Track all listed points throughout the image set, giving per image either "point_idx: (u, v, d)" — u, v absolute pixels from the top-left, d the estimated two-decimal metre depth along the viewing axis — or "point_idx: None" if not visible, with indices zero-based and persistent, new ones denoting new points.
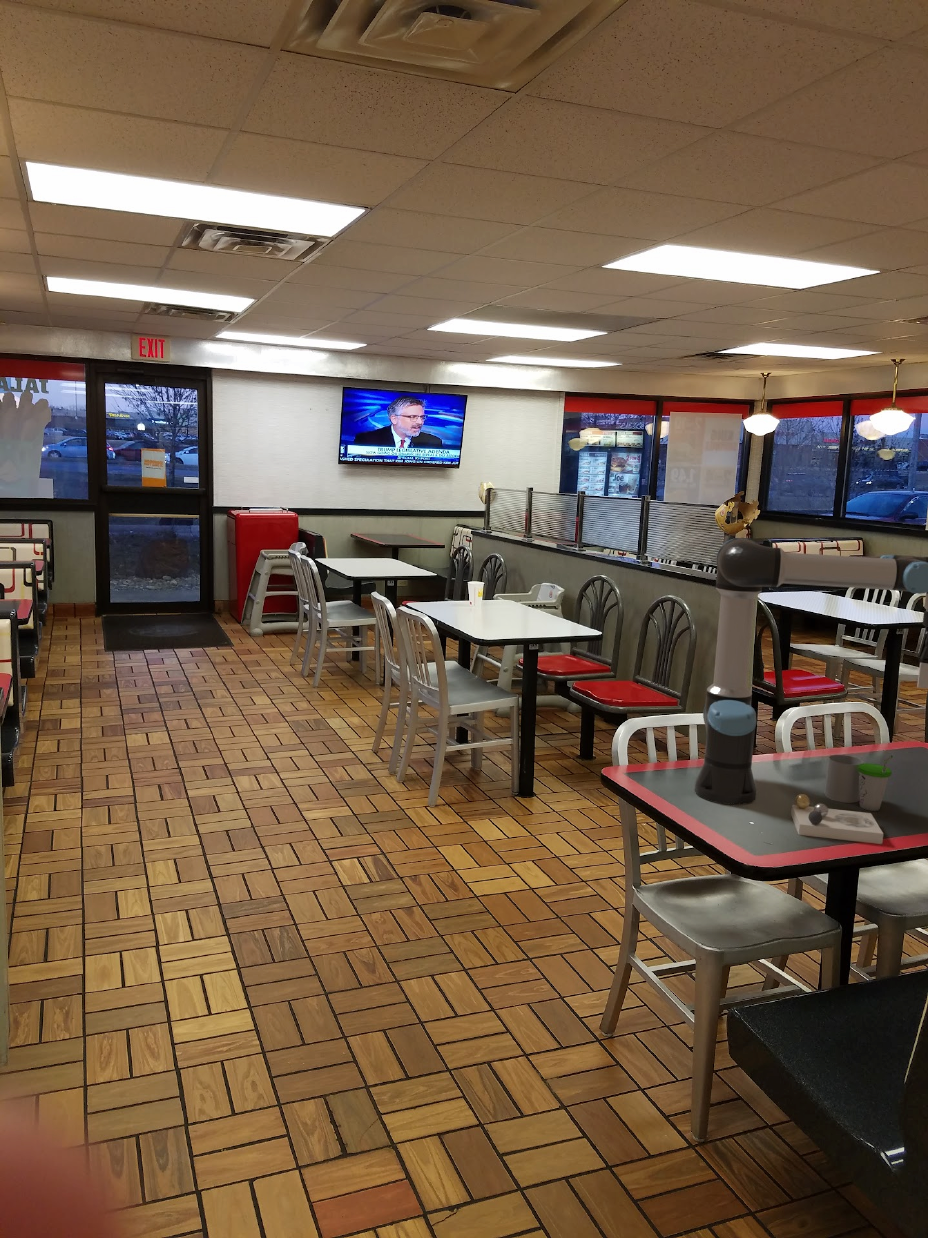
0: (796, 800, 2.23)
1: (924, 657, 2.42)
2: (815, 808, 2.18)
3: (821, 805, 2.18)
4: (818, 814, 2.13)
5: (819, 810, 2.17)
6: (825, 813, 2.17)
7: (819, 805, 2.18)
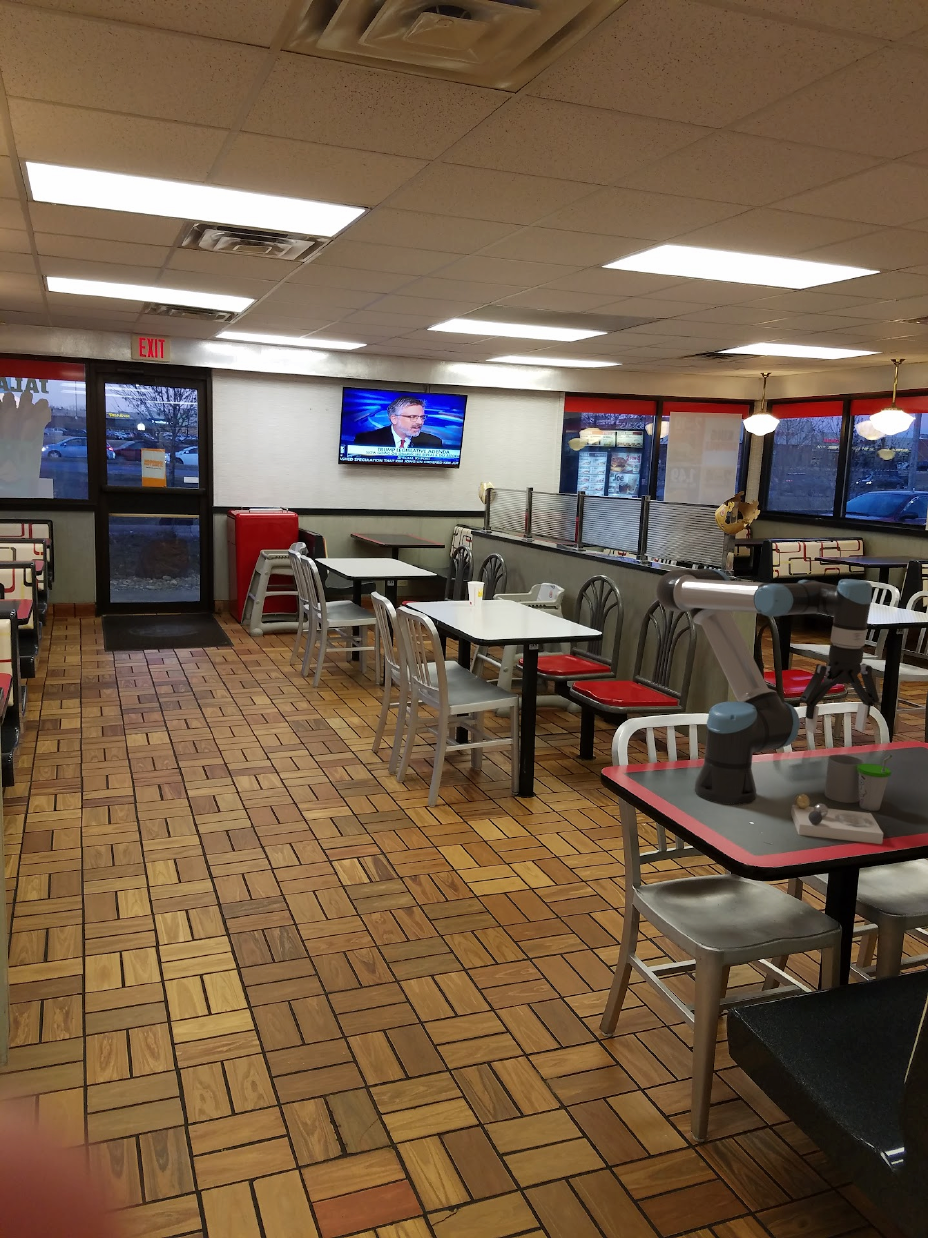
0: (796, 800, 2.23)
1: (859, 697, 2.25)
2: (815, 808, 2.18)
3: (821, 805, 2.18)
4: (818, 814, 2.13)
5: (819, 810, 2.17)
6: (825, 813, 2.17)
7: (819, 805, 2.18)
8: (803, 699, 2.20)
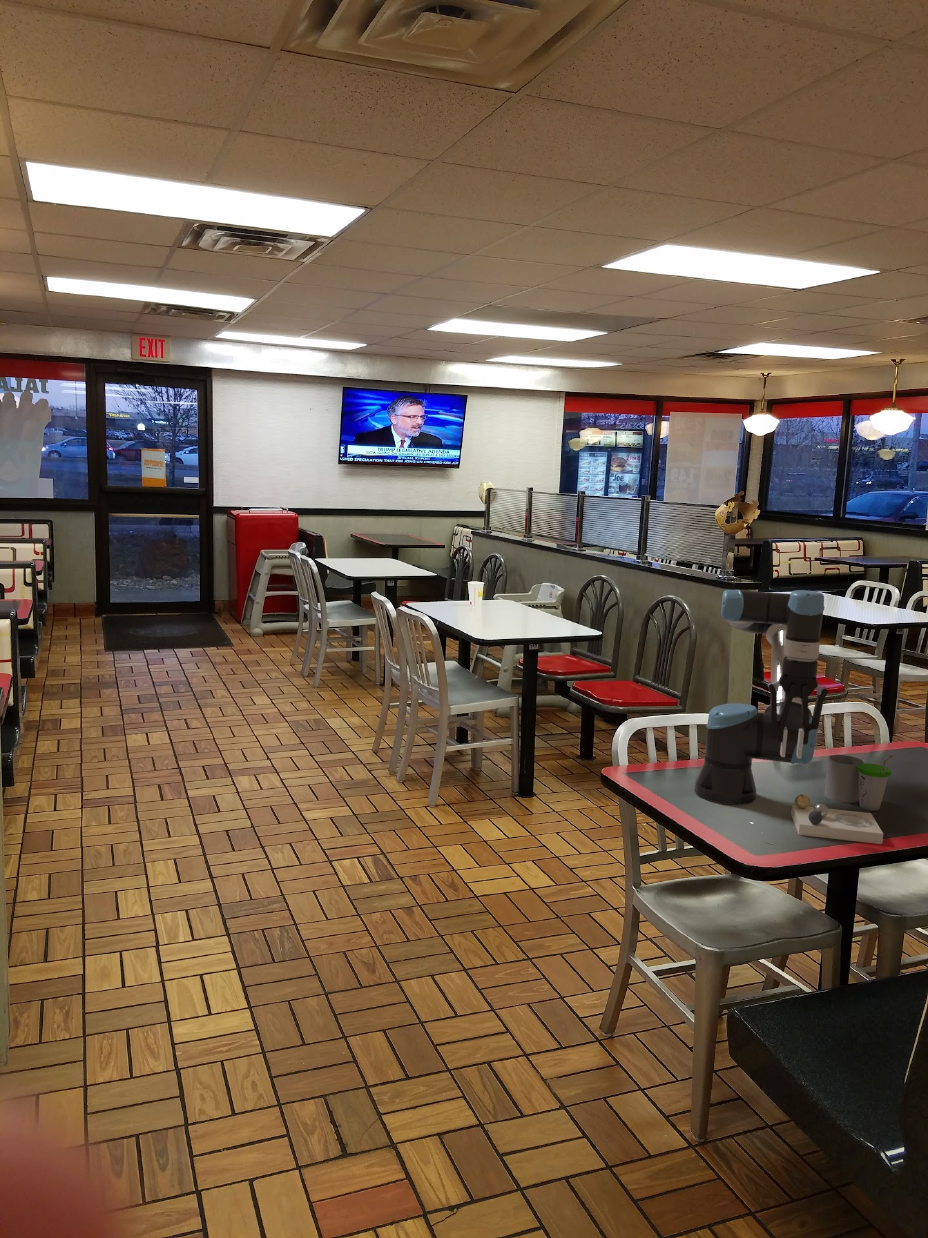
0: (796, 800, 2.23)
1: (802, 719, 2.17)
2: (815, 808, 2.18)
3: (821, 805, 2.18)
4: (818, 814, 2.13)
5: (819, 810, 2.17)
6: (825, 813, 2.17)
7: (819, 805, 2.18)
8: None
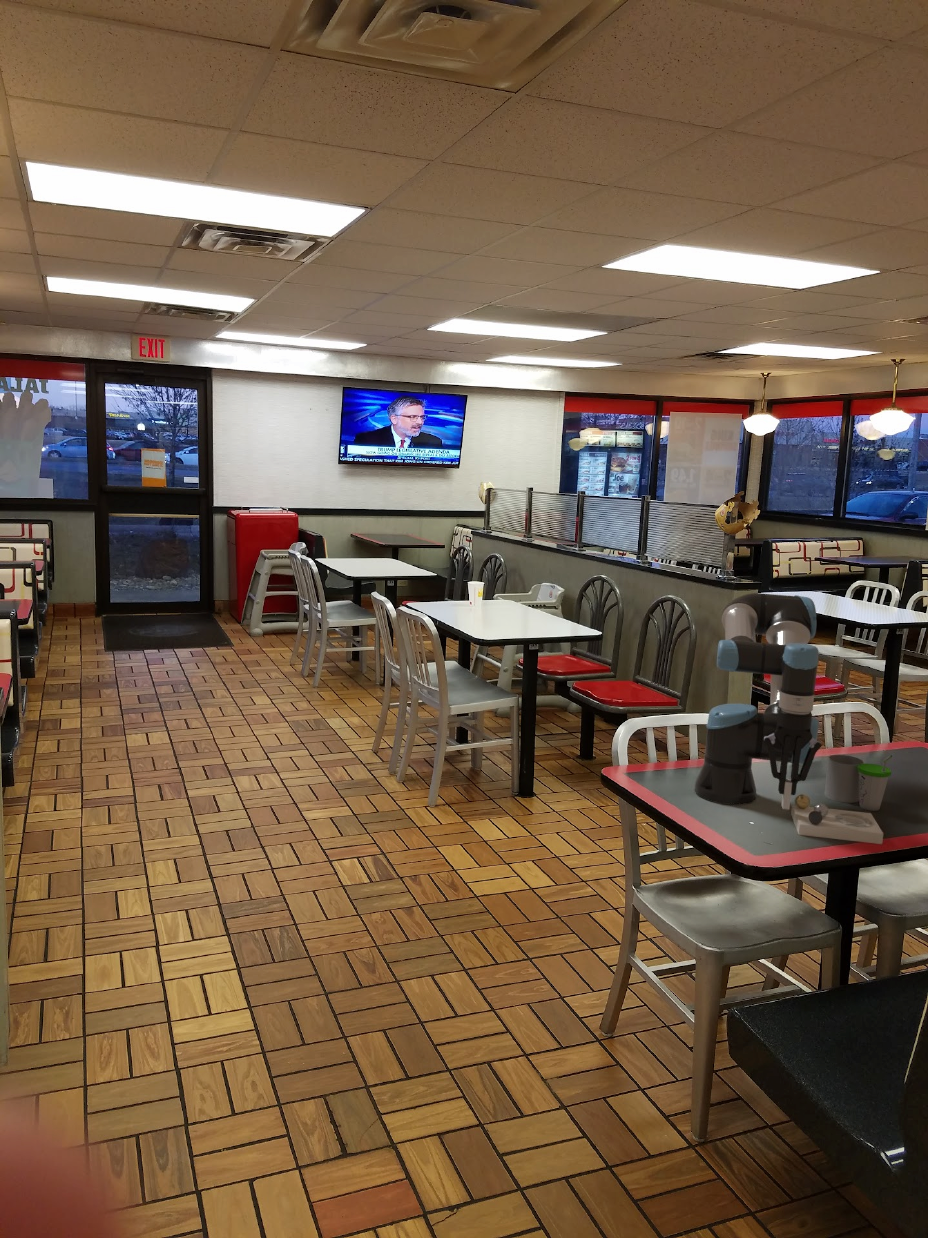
0: (796, 800, 2.23)
1: (791, 770, 2.19)
2: (815, 808, 2.18)
3: (821, 805, 2.18)
4: (818, 814, 2.13)
5: (819, 810, 2.17)
6: (825, 813, 2.17)
7: (819, 805, 2.18)
8: None
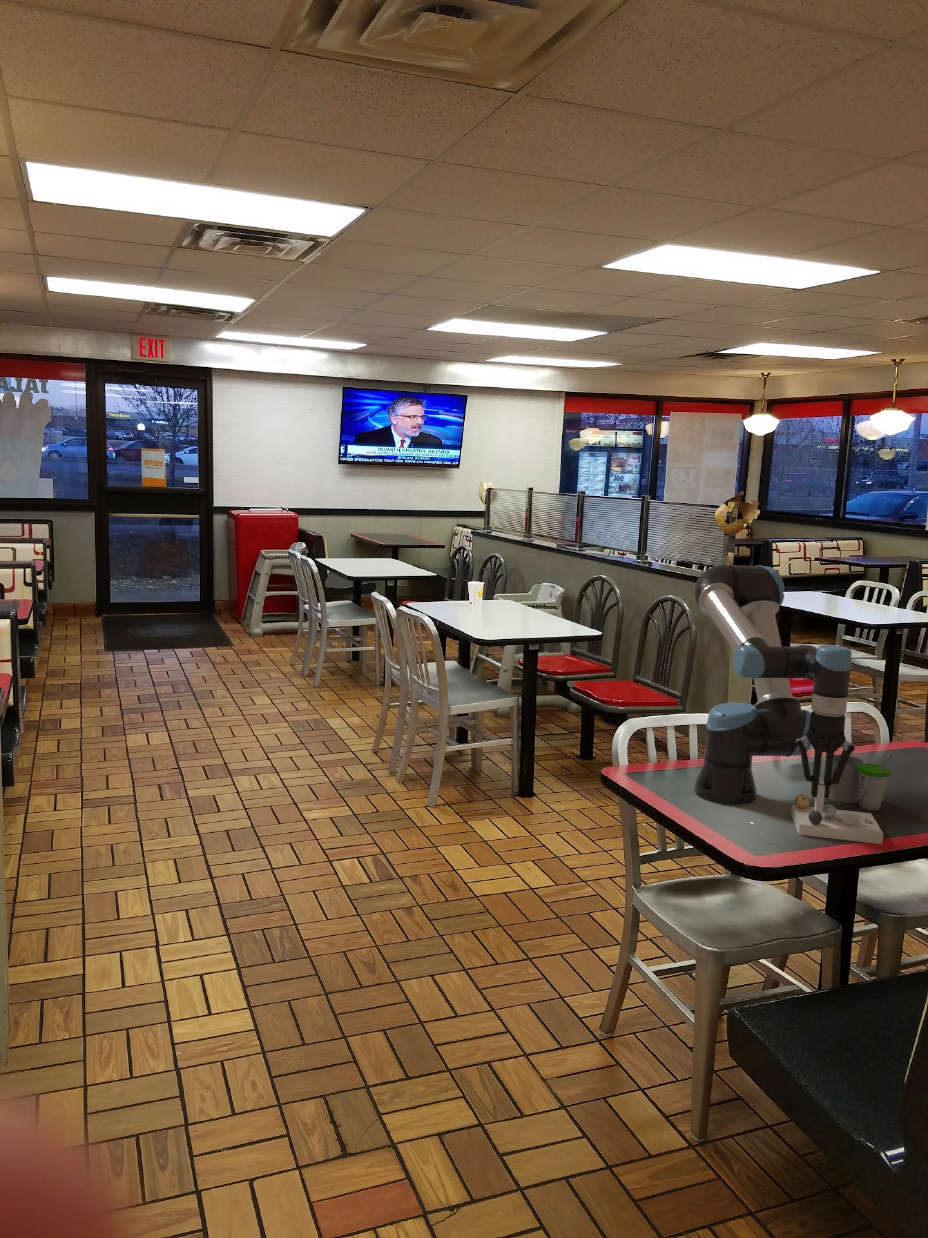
0: (796, 800, 2.23)
1: (824, 773, 2.17)
2: (829, 806, 2.17)
3: (835, 810, 2.17)
4: (818, 814, 2.13)
5: (831, 811, 2.16)
6: (830, 817, 2.17)
7: (834, 808, 2.17)
8: None
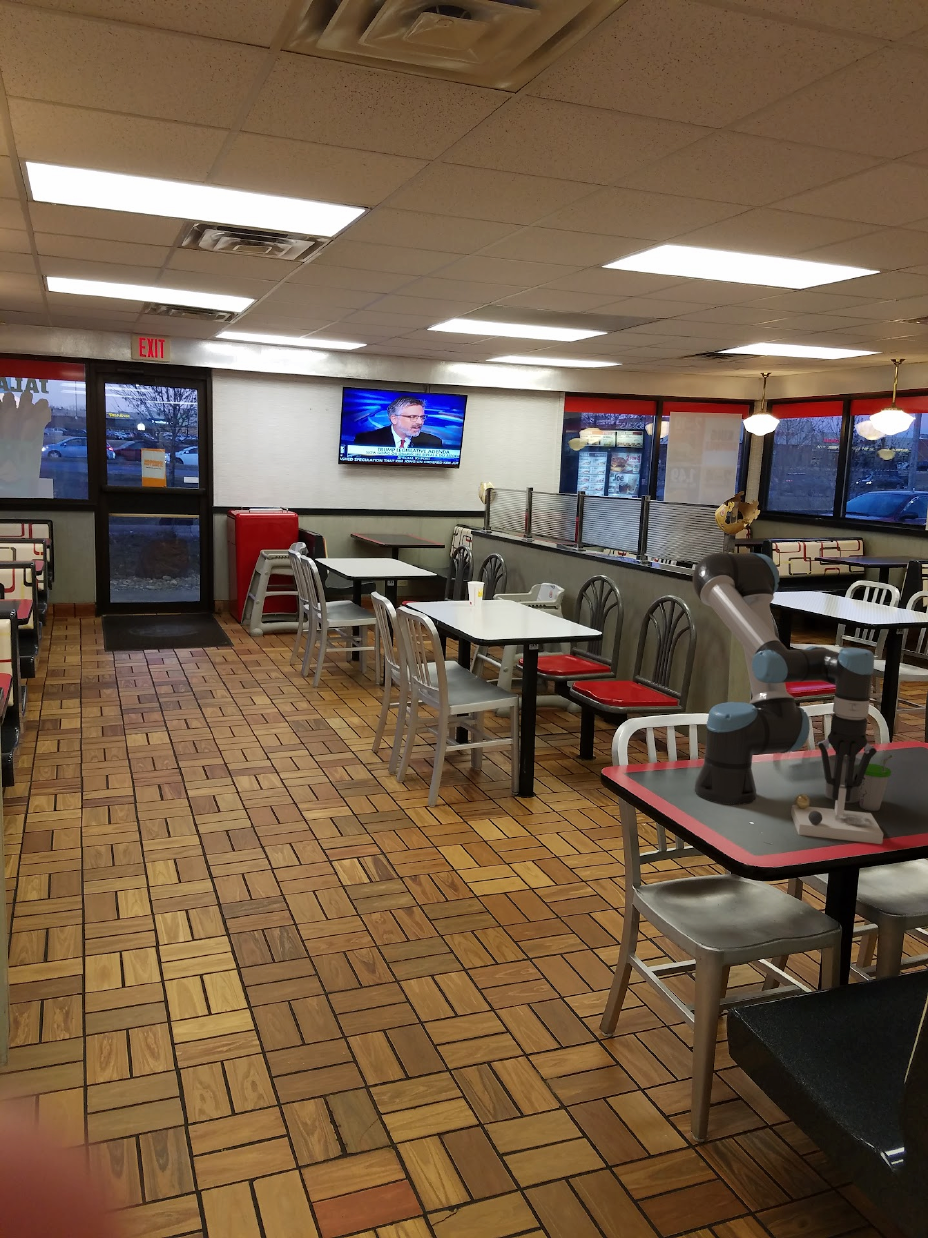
0: (796, 800, 2.23)
1: (845, 776, 2.17)
2: None
3: None
4: (818, 814, 2.13)
5: None
6: (852, 819, 2.17)
7: None
8: (826, 778, 2.17)
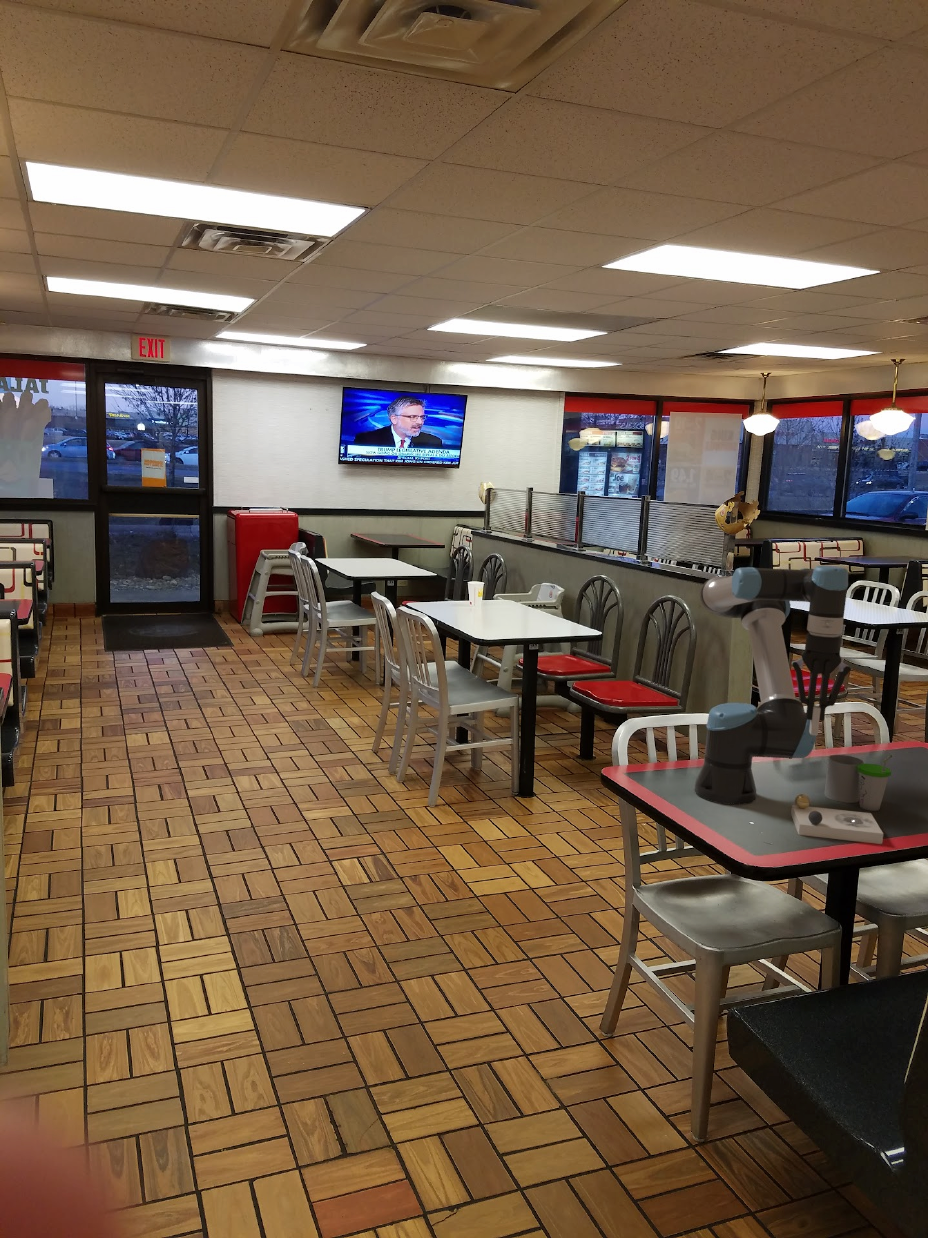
0: (796, 800, 2.23)
1: (820, 695, 2.15)
2: None
3: (851, 821, 2.16)
4: (818, 814, 2.13)
5: None
6: (861, 823, 2.16)
7: None
8: None
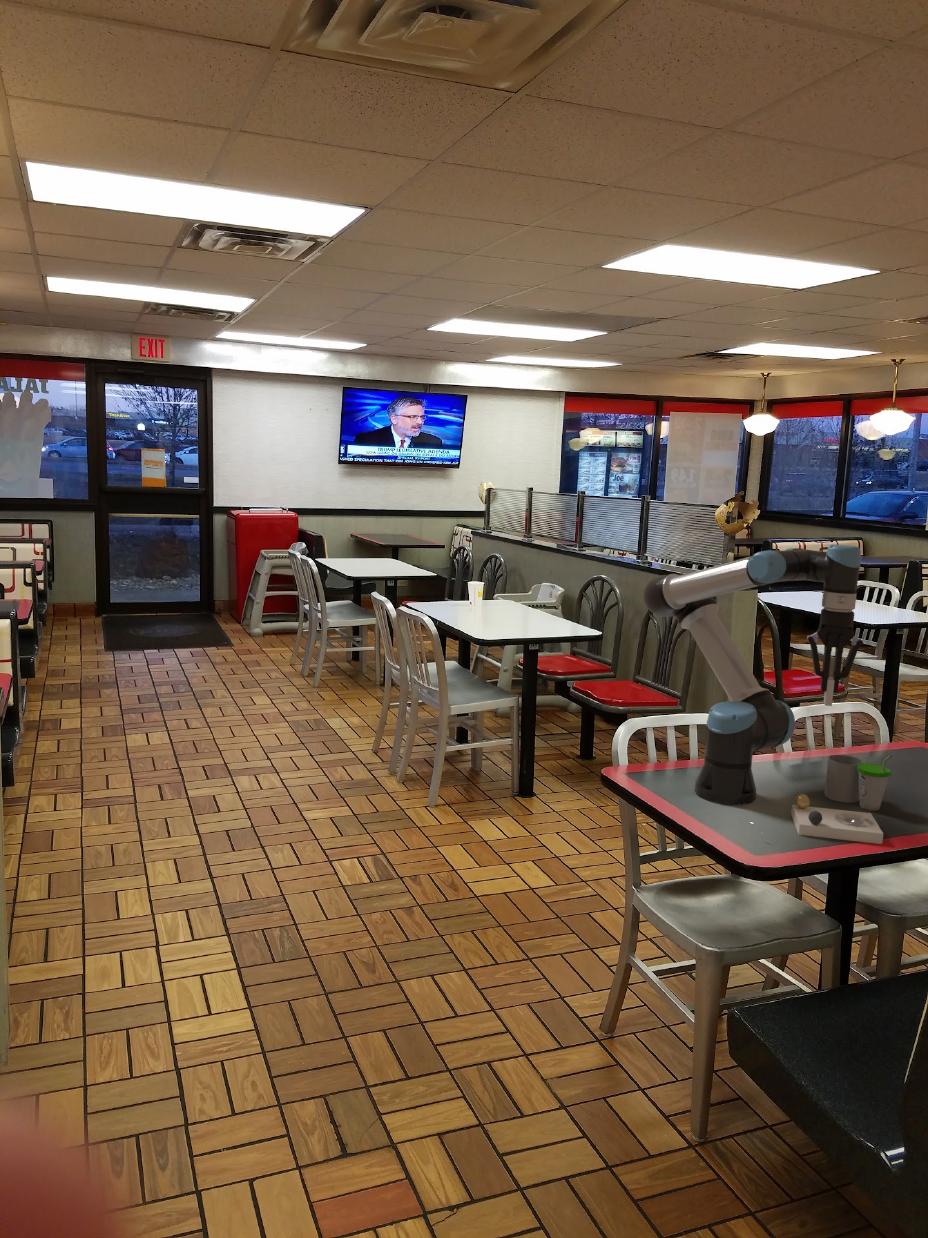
0: (796, 800, 2.23)
1: None
2: None
3: (851, 821, 2.17)
4: (818, 814, 2.13)
5: None
6: (860, 822, 2.16)
7: None
8: None
